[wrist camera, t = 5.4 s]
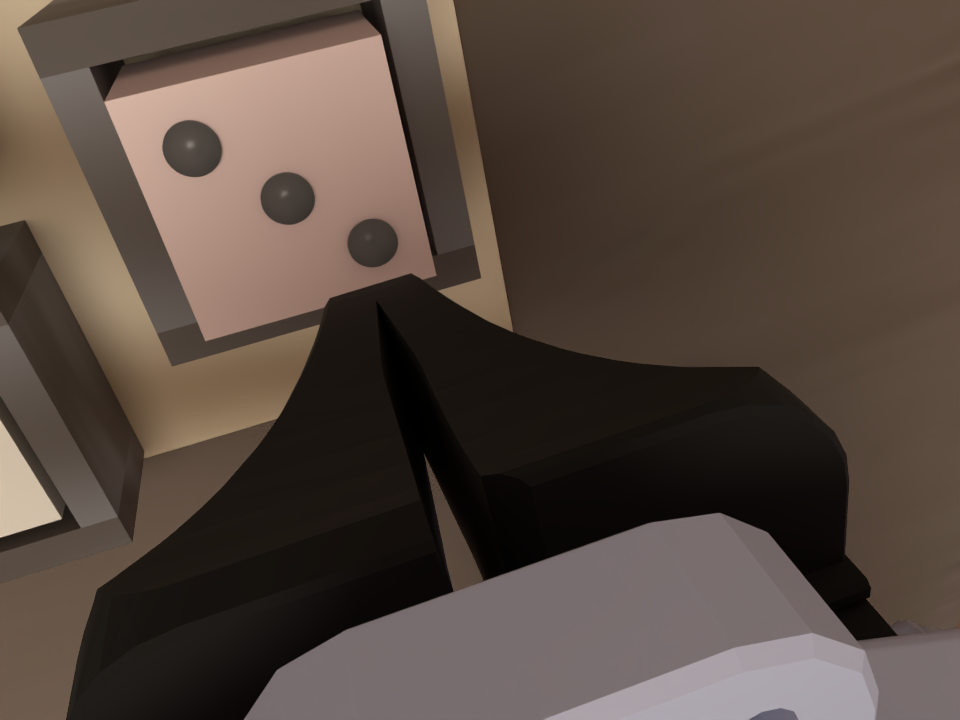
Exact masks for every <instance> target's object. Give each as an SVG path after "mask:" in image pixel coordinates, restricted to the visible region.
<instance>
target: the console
mask: <svg viewBox="0 0 960 720" xmlns="http://www.w3.org/2000/svg"><path fill="white" fill-rule="evenodd" d="M355 10H358V11H359V12H360V13H361V14H362V15H363V16H364V17H365V18H366V19H367V21H368V22H369V23H370V24H371V25H372V26H373V27H374V28H375V29H376V30H377V31H378V32H379V33H380V34H381V37H382V41H383V46H384V50H385V54H386V59H387V63H388V67H389V72H390V76H391V80H392V85H393V89H394V93H395V98H396V102H397V106H398V111H399V115H400V119H401V124H402V128H403V132H404V137H405V141H406V145H407V150H408V154H409V158H410V163H411V167H412V171H413V176H414V180H415V184H416V189H417V193H418V197H419V202H420V206H421V210H422V215H423V219H424V223H425V228H426V232H427V236H428V241H429V245H430V250H431V254H432V258H433V263H434V267H435V271H436V276H434V277H430V278H427V279H423V281H425V282H426V283H427V284H429V285H430V286H432V287H433V288H434V289H436V290H437V291H439V292H440V293H442V294H443V295H445V296H446V297H448V298H449V299H451V300H452V301H454V302H456V303H457V304H459V305H461V306H462V307H464V308H466V309H468V310H469V311H471V312H473V313H475V314H476V315H478V316H480V317H482V318H483V319H485V320H487V321H489V322H491V323H494V324H496V325H498V326H500V327H502V328H505V329H507V330H509V331H511V332H513V328H512V323H511V317H510V312H509V306H508V301H507V295H506V290H505V284H504V279H503V273H502V268H501V262H500V257H499V251H498V245H497V240H496V234H495V229H494V223H493V218H492V212H491V207H490V201H489V196H488V190H487V185H486V179H485V174H484V168H483V163H482V157H481V152H480V146H479V141H478V135H477V129H476V124H475V118H474V113H473V107H472V102H471V96H470V91H469V85H468V80H467V74H466V69H465V63H464V58H463V52H462V47H461V41H460V36H459V30H458V24H457V19H456V13H455V8H454V2H453V0H0V396H1V398H2V399H3V401H4V403H5V404H6V406H7V408H8V409H9V411H10V412H11V414H12V416H13V417H14V419H15V421H16V422H17V424H18V426H19V427H20V429H21V431H22V432H23V434H24V435H25V437H26V439H27V440H28V442H29V444H30V445H31V447H32V449H33V450H34V452H35V453H36V455H37V457H38V458H39V460H40V462H41V463H42V465H43V467H44V468H45V470H46V472H47V473H48V475H49V476H50V478H51V480H52V481H53V483H54V485H55V486H56V488H57V490H58V491H59V493H60V494H61V496H62V498H63V499H64V501H65V503H66V504H65V508H64V512H63V516H62V519H60V520H57V521H53V522H50V523H47V524H44V525H40V526H37V527H34V528H30V529H27V530H24V531H21V532H17V533H14V534H11V535H7V536H4V537H1V538H0V583H4V582H7V581H10V580H13V579H16V578H20V577H23V576H26V575H29V574H32V573H36V572H39V571H42V570H45V569H49V568H52V567H55V566H58V565H61V564H65V563H68V562H71V561H74V560H78V559H81V558H84V557H87V556H90V555H94V554H97V553H100V552H103V551H106V550H110V549H113V548H116V547H119V546H123V545H126V544H129V543H132V542H133V534H134V527H135V519H136V512H137V504H138V497H139V489H140V482H141V475H142V467H143V460H144V458H147V457H151V456H154V455H157V454H161V453H164V452H167V451H171V450H174V449H177V448H181V447H184V446H187V445H191V444H194V443H198V442H201V441H204V440H208V439H211V438H214V437H218V436H221V435H224V434H228V433H231V432H234V431H238V430H241V429H244V428H248V427H251V426H254V425H258V424H261V423H264V422H268V421H271V420H274V419H278V417H279V415H280V414H281V412H282V410H283V408H284V407H285V405H286V403H287V401H288V399H289V397H290V395H291V393H292V391H293V389H294V387H295V385H296V383H297V381H298V379H299V378H300V375H301V373H302V371H303V369H304V366H305V364H306V361H307V359H308V356H309V354H310V352H311V349H312V347H313V344H314V341H315V338H316V336H317V333H318V330H319V326H320V323H321V320H322V316H323V312H324V308H321V309H317V310H314V311H310V312H307V313H303V314H300V315H296V316H293V317H289V318H286V319H282V320H279V321H275V322H272V323H268V324H265V325H261V326H258V327H254V328H250V329H247V330H243V331H240V332H236V333H233V334H229V335H226V336H222V337H219V338H215V339H212V340H208V341H205V339H204V337H203V334H202V332H201V330H200V327H199V325H198V323H197V320H196V318H195V315H194V313H193V311H192V308H191V306H190V304H189V301H188V299H187V297H186V294H185V292H184V289H183V287H182V285H181V282H180V280H179V278H178V275H177V273H176V271H175V268H174V266H173V263H172V261H171V259H170V256H169V254H168V252H167V249H166V247H165V245H164V242H163V240H162V238H161V235H160V233H159V230H158V228H157V226H156V223H155V221H154V219H153V216H152V214H151V212H150V209H149V207H148V204H147V202H146V200H145V197H144V195H143V193H142V190H141V188H140V186H139V183H138V181H137V178H136V176H135V174H134V171H133V169H132V167H131V164H130V162H129V160H128V157H127V155H126V152H125V150H124V148H123V145H122V143H121V141H120V138H119V136H118V134H117V131H116V129H115V126H114V124H113V122H112V119H111V117H110V115H109V112H108V110H107V108H106V105H105V103H104V101H105V99H106V97H107V95H108V93H109V91H110V89H111V87H112V85H113V83H114V81H115V79H116V78H117V76H118V74H119V72H120V70H121V68H122V66H124V65H128V64H132V63H136V62H141V61H145V60H149V59H153V58H157V57H162V56H166V55H170V54H174V53H178V52H183V51H187V50H191V49H195V48H199V47H204V46H208V45H212V44H216V43H220V42H225V41H229V40H233V39H237V38H241V37H246V36H250V35H254V34H258V33H262V32H267V31H271V30H275V29H279V28H283V27H288V26H292V25H296V24H300V23H304V22H309V21H313V20H317V19H321V18H325V17H330V16H334V15H338V14H342V13H346V12H351V11H355Z"/></svg>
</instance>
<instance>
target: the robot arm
mask: <svg viewBox="0 0 960 720" xmlns="http://www.w3.org/2000/svg"><path fill="white" fill-rule="evenodd" d="M424 454H425V456H426V458H427V460H428V462H429V465H430V467H431V469H432V471H433V473H434V475H435V477H436V479H437V481H438V483H439V486H440V488H441V490H442V492H443V494H444V496H445V498H446V500H447V502H448V504H449V506H450V509H451V511H452V513H453V515H454V517H455V519H456V521H457V523H458V525H459V527H460V529H461V532H462V534H463V536H464V538H465V540H466V542H467V544H468V546H469V548H470V550H471V552H472V554H473V557H474V559H475V561H476V563H477V566H478V568H479V571H480V573H481V575H482V578H483V580H484V581H482V582H480V583H477V584H474V585H471V586H468V587H465V588H463V589H460V590H457V591H454V592H453V588H452V584H451V580H450V576H449V572H448V568H447V564H446V559H445V554H444V549H443V544H442V539H441V535H440V530H439V525H438V520H437V515H436V510H435V505H434V501H433V496H432V491H431V486H430V481H429V476H428V472H427V467H426V462H425V457H424ZM848 492H849V475H848V466H847V456H846V453H845V451H844V449H843V447H842V445H841V444H840V442H839V440H838V438H837V436H836V434H835V432H834V431H833V430H832V429H831V428H830V427H829V426H827V425H826V424H825V423H824V422H823V421H822V420H821V419H820V418H819V417H818V416H817V415H816V414H814V413H813V412H812V411H811V410H810V409H809V408H808V407H807V406H806V405H805V404H804V403H803V402H802V401H801V400H800V399H799V398H797V397H796V396H795V395H794V394H793V393H792V392H791V391H790V390H788V389H787V388H786V387H784V386H783V385H782V384H780V383H779V382H778V381H776V380H775V379H774V378H773V377H771V376H770V375H769V374H767V373H766V372H765V371H763V370H762V369H761V368H760V367H674V366H662V365H650V364H639V363H631V362H624V361H617V360H611V359H606V358H601V357H596V356H591V355H585V354H580V353H576V352H572V351H568V350H564V349H561V348H557V347H554V346H551V345H548V344H545V343H542V342H539V341H535V340H532V339H529V338H527V337H524V336H521V335H519V334H516V333H514V332H511V331H509V330H507V329H505V328H502V327H500V326H498V325H496V324H494V323H491V322H489V321H487V320H485V319H483V318H482V317H480V316H478V315H476V314H475V313H473V312H471V311H469V310H468V309H466V308H464V307H462V306H461V305H459V304H457V303H456V302H454V301H452V300H451V299H449V298H448V297H446V296H445V295H443V294H442V293H440V292H439V291H437V290H436V289H434V288H433V287H432V286H430V285H429V284H427V283H426V282H425V281H423V280H422V279H421V278H419V277H417V276H415V275H413V274H412V273H410V274H407V275H403V276H400V277H397V278H394V279H390V280H387V281H384V282H381V283H377V284H374V285H371V286H368V287H364V288H361V289H358V290H354V291H351V292H348V293H345V294H341V295H338V296H335V297H332V298H329V300H328V302H327V304H326V305H325V307H324V312H323V316H322V320H321V323H320V326H319V330H318V333H317V336H316V338H315V341H314V344H313V347H312V349H311V352H310V354H309V356H308V359H307V361H306V364H305V366H304V369H303V371H302V373H301V375H300V378H299V379H298V381H297V383H296V385H295V387H294V389H293V391H292V393H291V395H290V397H289V399H288V401H287V403H286V405H285V407H284V408H283V410H282V412H281V414H280V415H279V417H278V419H277V420H276V422H275V423H274V425H273V426H272V428H271V429H270V430H269V432H268V433H267V435H266V436H265V438H264V439H263V440H262V442H261V443H260V444H259V446H258V447H257V448H256V449H255V451H254V452H253V453H252V454H251V455H250V456H249V457H248V459H247V460H246V461H245V462H244V463H243V464H242V465H241V467H240V468H239V469H238V470H237V471H236V472H235V473H234V475H233V476H232V477H231V478H230V479H229V480H228V482H227V483H226V484H225V485H224V486H223V487H222V488H221V489H220V490H219V491H218V492H217V493H216V494H215V495H214V496H213V497H212V498H211V499H210V500H209V501H208V502H207V503H206V504H205V505H204V506H203V507H202V508H201V509H200V510H199V511H197V512H196V513H195V514H194V515H193V516H192V517H191V518H190V519H188V520H187V521H186V522H185V523H184V524H183V525H182V526H180V527H179V528H178V529H177V530H176V531H175V532H174V533H172V534H171V535H170V536H169V537H167V538H166V539H165V540H164V541H163V542H161V543H160V544H159V545H157V546H156V547H155V548H153V549H152V550H151V551H149V552H148V553H147V554H145V555H144V556H143V557H141V558H140V559H139V560H137V561H136V562H135V563H133V564H132V565H131V566H129V567H128V568H127V569H125V570H124V571H123V572H121V573H120V574H119V575H117V576H116V577H114V578H113V579H112V580H110V581H109V582H107V583H106V584H104V585H103V586H101V587H100V588H99V589H97V592H96V595H95V599H94V603H93V606H92V609H91V612H90V615H89V618H88V621H87V624H86V627H85V631H84V634H83V638H82V642H81V647H80V651H79V655H78V659H77V664H76V670H75V675H74V680H73V686H72V691H71V696H70V702H69V707H68V712H67V718H66V720H960V628H955V629H947V630H941V629H937V628H932V627H927V626H921V625H919V626H918V625H917V624H915V623H914V622H912V621H908V620H903V619H902V620H899V621H897V622H896V623H895V624H893V625H892V626H891V627H890V626H889V625H888V623H887V622H886V621H885V620H884V619H883V618H882V617H881V616H880V614H879V613H878V612H877V611H876V610H875V609H874V608H873V606H872V605H871V604H870V603H869V602H868V601H867V600H866V598H869V597H870V591H871V587H870V585H869V583H868V580H867V578H866V577H865V576H864V575H863V574H862V573H861V571H860V570H859V569H858V568H857V567H856V566H855V565H854V564H853V563H852V561H851V560H850V559H849V558H848V557H847V556H846V555H845V544H846V527H847V510H848Z"/></svg>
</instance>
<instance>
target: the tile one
mask: <svg viewBox="0 0 960 720" xmlns="http://www.w3.org/2000/svg"><path fill="white" fill-rule="evenodd" d="M65 504H66V503H65V501H64V499H63V498H62V496H61V494H60V493H59V491H58V490H57V488H56V486H55V485H54V483H53V481H52V480H51V478H50V476H49V475H48V473H47V472H46V470H45V468H44V467H43V465H42V463H41V462H40V460H39V458H38V457H37V455H36V453H35V452H34V450H33V449H32V447H31V445H30V444H29V442H28V440H27V439H26V437H25V435H24V434H23V432H22V431H21V429H20V427H19V426H18V424H17V422H16V421H15V419H14V417H13V416H12V414H11V412H10V411H9V409H8V408H7V406H6V404H5V403H4V401H3V399H2V398H1V396H0V538H1V537H4V536H7V535H11V534H14V533H17V532H21V531H24V530H27V529H30V528H34V527H37V526H40V525H44V524H47V523H50V522H53V521H57V520H60V519H62V516H63V512H64V508H65Z"/></svg>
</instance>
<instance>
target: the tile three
mask: <svg viewBox="0 0 960 720" xmlns="http://www.w3.org/2000/svg"><path fill="white" fill-rule="evenodd" d="M104 103H105V105H106V108H107V110H108V112H109V115H110V117H111V119H112V122H113V124H114V126H115V129H116V131H117V134H118V136H119V138H120V141H121V143H122V145H123V148H124V150H125V152H126V155H127V157H128V160H129V162H130V164H131V167H132V169H133V171H134V174H135V176H136V178H137V181H138V183H139V186H140V188H141V190H142V193H143V195H144V197H145V200H146V202H147V204H148V207H149V209H150V212H151V214H152V216H153V219H154V221H155V223H156V226H157V228H158V230H159V233H160V235H161V238H162V240H163V242H164V245H165V247H166V249H167V252H168V254H169V256H170V259H171V261H172V263H173V266H174V268H175V271H176V273H177V275H178V278H179V280H180V282H181V285H182V287H183V289H184V292H185V294H186V297H187V299H188V301H189V304H190V306H191V308H192V311H193V313H194V315H195V318H196V320H197V323H198V325H199V327H200V330H201V332H202V334H203V337H204V339H205V341H208V340H212V339H215V338H219V337H222V336H226V335H229V334H233V333H236V332H240V331H243V330H247V329H250V328H254V327H258V326H261V325H265V324H268V323H272V322H275V321H279V320H282V319H286V318H289V317H293V316H296V315H300V314H303V313H307V312H310V311H314V310H317V309H321V308H324V307H325V305H326V304H327V302H328V300H329V298H332V297H335V296H338V295H341V294H345V293H348V292H351V291H354V290H358V289H361V288H364V287H368V286H371V285H374V284H377V283H381V282H384V281H387V280H390V279H394V278H397V277H400V276H403V275H407V274H410V273H412V274H413V275H415V276H417V277H419V278H421V279H422V280H423V279H427V278H430V277H434V276H436V271H435V267H434V263H433V258H432V254H431V250H430V245H429V241H428V236H427V232H426V228H425V223H424V219H423V215H422V210H421V206H420V202H419V197H418V193H417V189H416V184H415V180H414V176H413V171H412V167H411V163H410V158H409V154H408V150H407V145H406V141H405V137H404V132H403V128H402V124H401V119H400V115H399V111H398V106H397V102H396V98H395V93H394V89H393V85H392V80H391V76H390V72H389V67H388V63H387V59H386V54H385V50H384V46H383V41H382V37H381V34H380V33H379V32H378V31H377V30H376V29H375V28H374V27H373V26H372V25H371V24H370V23H369V22H368V21H367V19H366V18H365V17H364V16H363V15H362V14H361V13H360V12H359V11H358V10H355V11H351V12H346V13H342V14H338V15H334V16H330V17H325V18H321V19H317V20H313V21H309V22H304V23H300V24H296V25H292V26H288V27H283V28H279V29H275V30H271V31H267V32H262V33H258V34H254V35H250V36H246V37H241V38H237V39H233V40H229V41H225V42H220V43H216V44H212V45H208V46H204V47H199V48H195V49H191V50H187V51H183V52H178V53H174V54H170V55H166V56H162V57H157V58H153V59H149V60H145V61H141V62H136V63H132V64H128V65H124V66H122V68H121V70H120V72H119V74H118V76H117V78H116V79H115V81H114V83H113V85H112V87H111V89H110V91H109V93H108V95H107V97H106V99H105V101H104Z"/></svg>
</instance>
